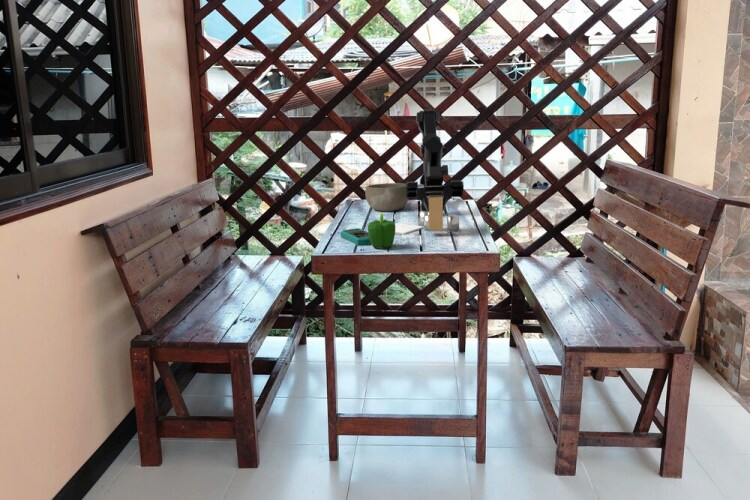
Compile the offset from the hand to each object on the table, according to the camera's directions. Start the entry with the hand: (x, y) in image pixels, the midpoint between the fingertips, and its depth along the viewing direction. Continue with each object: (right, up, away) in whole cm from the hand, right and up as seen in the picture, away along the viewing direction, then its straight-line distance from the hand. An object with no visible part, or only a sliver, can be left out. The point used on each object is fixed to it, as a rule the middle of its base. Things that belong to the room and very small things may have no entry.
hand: (435, 210), depth 208 cm
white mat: (-12, -5, +14) cm, 20 cm away
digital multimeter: (-25, -10, 0) cm, 26 cm away
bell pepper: (-17, -12, -11) cm, 23 cm away
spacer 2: (-1, -6, +12) cm, 13 cm away
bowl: (-14, +3, +52) cm, 54 cm away
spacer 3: (+7, -6, +9) cm, 13 cm away
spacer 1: (-2, -4, +19) cm, 19 cm away
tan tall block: (0, -6, +3) cm, 7 cm away
